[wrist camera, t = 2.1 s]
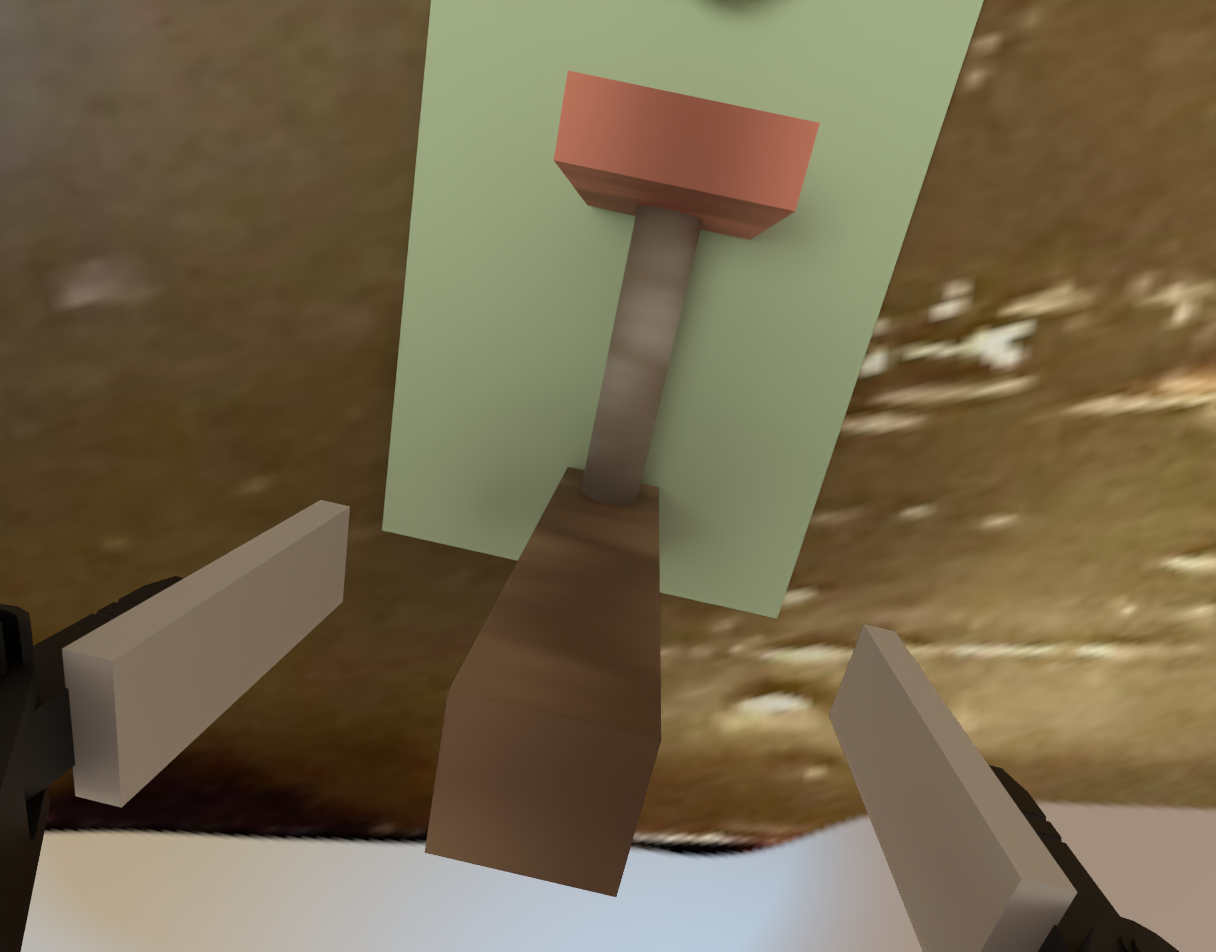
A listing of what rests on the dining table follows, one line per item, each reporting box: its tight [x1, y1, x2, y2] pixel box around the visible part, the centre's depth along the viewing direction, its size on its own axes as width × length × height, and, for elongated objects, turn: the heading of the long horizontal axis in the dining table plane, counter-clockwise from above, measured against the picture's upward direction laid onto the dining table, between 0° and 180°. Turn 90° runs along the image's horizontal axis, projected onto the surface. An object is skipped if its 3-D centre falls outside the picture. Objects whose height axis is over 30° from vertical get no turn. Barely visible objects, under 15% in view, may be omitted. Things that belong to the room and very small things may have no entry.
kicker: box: [425, 71, 820, 897], centre depth 13 cm, size 5×13×12 cm, turn 168°
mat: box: [382, 0, 984, 618], centre depth 17 cm, size 15×32×1 cm, turn 168°
